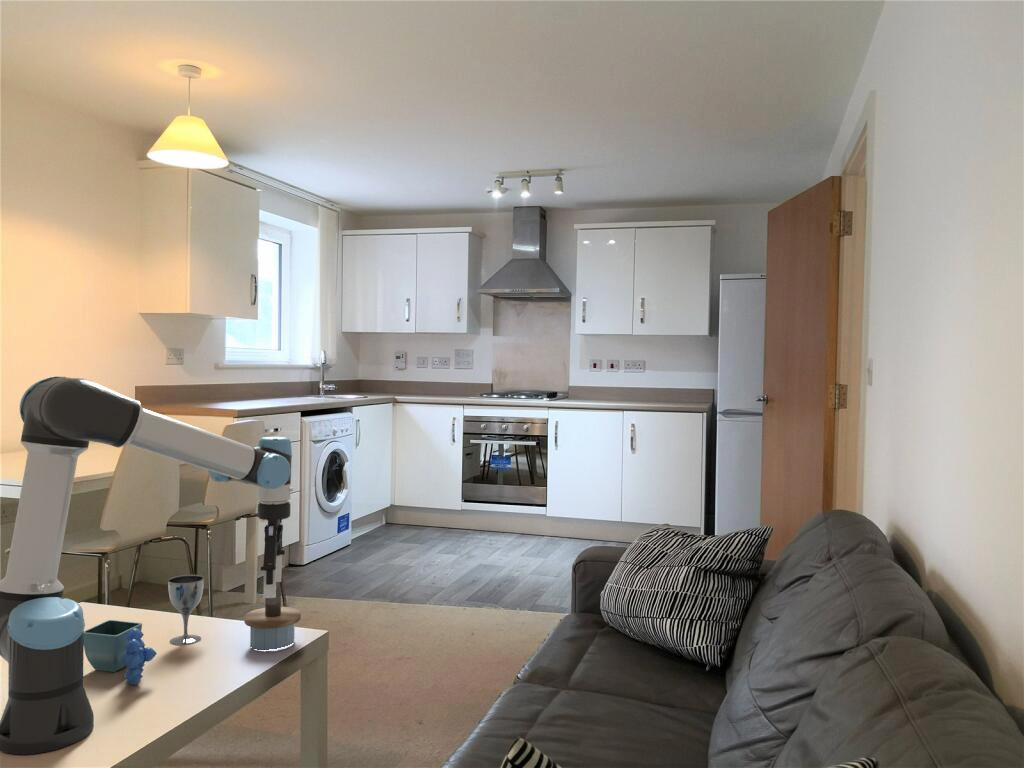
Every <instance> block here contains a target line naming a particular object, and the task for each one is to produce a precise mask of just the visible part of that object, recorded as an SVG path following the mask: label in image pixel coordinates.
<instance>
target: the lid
mask: <svg viewBox="0 0 1024 768" xmlns="http://www.w3.org/2000/svg"><path fill="white" fill-rule="evenodd" d="M264 599H265V601H264V603H265V604H264V607H262V608H261V607H260V608H257V609H253V610H251V611H248V612H247V613H245V615H244V624H245V625H246V626H247V627H253V628H261V629H271V628H280V627H286V626H290V625H293V624H295V625H296V624H297V623H299V622H300V621H301V620H302V612H301V610H299V609H298V608H295V607H289V606H282V589H281V588H279V587H276V598H264Z"/></svg>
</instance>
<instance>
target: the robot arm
mask: <svg viewBox="0 0 1024 768" xmlns="http://www.w3.org/2000/svg"><path fill="white" fill-rule="evenodd" d="M19 414H20V418H21V420H22V422H23V425H22V432H21V438H20V444H21V445H22V446H23V447H24V448H25V450H26V451H27V455H26V460H25V461H26V462H25V466H24V473H23V477H22V483H21V489H20V494H19V500H18V505H17V512H16V516H15V520H14V521H15V522H14V529H13V532H12V539H11V545H10V550H9V555H8V560H7V561H8V562H7V567H6V571H5V572H6V573H5V576H4V577H3V578H1V580H0V657H1V658H3V659H4V660H5V661H6V662H7V664H8V669H7V670H8V678H7V679H8V681H7V682H8V685H7V687H8V690H7V692H8V698H7V702H6V704H5V707H4V709H3V712H2V715H1V718H0V751H1V752H3V753H7V754H10V755H35V754H41V753H46V752H51V751H52V752H53V751H55V750H56V751H57V750H59V749H63V748H65V747H68V746H71V745H73V744H75V743H78V742H79V741H81V740H82V739H84V738H86V737H87V736H88V735H90V734H91V732H92V731H93V729H94V724H95V723H94V720H95V719H94V718H95V717H94V712H93V711H94V710H93V708H92V706H91V704H90V701H89V698H88V694H87V693H86V690H85V688H84V654H85V650H84V631H85V627H86V623H85V622H86V621H85V617H84V610H83V608H82V606H81V605H80V603H79V602H77V601H75V600H73V599H70V598H66V597H65V598H63V595H64V590H65V586H64V585H63V584H62V582H61V581H60V580H59V579H58V574H59V568H60V563H61V555H62V550H63V544H64V541H65V540H64V539H65V533H66V529H67V521H68V516H69V511H70V510H69V509H70V503H71V499H72V494H73V493H72V492H73V487H74V482H75V474H76V470H77V469H76V468H77V466H78V458H79V457H80V455H82V454H83V453H84V452H86V451H88V449H89V444H90V442H92V443H93V442H94V443H99V444H105V445H108V446H111V447H115V448H122V447H124V446H130V447H133V448H137V449H139V450H143V451H146V452H148V453H149V452H150V453H152V454H155V455H158V456H161V457H165V458H168V459H172V460H175V461H178V462H181V463H184V464H186V465H187V464H188V465H190V466H194V467H198V468H199V469H204V470H206V471H208V474H209V476H210V479H211V480H212V481H214V482H217V483H223V482H224V483H228V482H239V483H243V484H248V485H251V486H252V485H253V486H257V501H258V504H257V518H258V519H260V520H263V521H264V520H266V521H267V524H265V526H264V550H263V551H264V554H263V565H262V566H260V571H263V592H262V593H263V597H262V598H263V599H265V598H276V588H277V583H281V582H282V576H283V575H282V572H283V571H282V569H283V568H282V566H283V563H282V562H283V558H282V557H283V556H284V555H285V553H286V552H285V551H286V550H285V549H284V547H283V531H284V523H283V524H282V522H283V521H282V520H286V519H288V518H290V516H291V502H290V500H291V492H293V491H294V487H293V486H291V484H292V482H291V481H292V458H293V454H292V442H291V440H290V438H289V437H286V436H285V437H284V436H263V437H261V438H259V440H258V444H257V446H251V445H248V444H246V443H242V442H239V441H236V440H235V439H231V438H228V437H225V436H223V435H220V434H217V433H214V432H212V431H209V430H206V429H203V428H200V427H197V426H194V425H191V424H189V423H186V422H183V421H180V420H177V419H174V418H171V417H169V416H166V415H163V414H160V413H159V412H158V413H157V412H154V411H153V410H148V409H146V408H143V406H142V404H141V402H140V401H139V400H137V399H134V398H131V397H129V396H126V395H124V394H121V393H119V392H117V391H115V390H112V389H110V388H108V387H106V386H104V385H102V384H100V383H98V382H95V381H93V380H90V379H86V378H80V377H77V378H76V377H66V376H58V375H57V376H52V377H51V376H50V377H47V378H43V379H40V380H38V381H36V382H35V383H33V384H32V385H30V386H29V387H28V388H27V389H26V391H24V393H23V395H22V397H21V398H20V402H19ZM283 549H284V550H283Z"/></svg>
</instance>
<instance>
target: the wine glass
mask: <svg viewBox="0 0 1024 768" xmlns="http://www.w3.org/2000/svg"><path fill="white" fill-rule="evenodd" d="M204 580H205V578H204V576H203V575H200V574H181V575H176V576H175V575H174V576H173V577H169V579H168V582H167V583H168V585H167V587H168V590H167V591H168V596H169V601H170V603H171V605H172V606H173V607H174V608H175V609H176V610H177V611H178V612H179V614H180V615H181V616H182V621H183V634H182V635H180V636H176V637H173V638H171V639H170V641H169V643H170V645H172V646H173V645H174V646H187V645H194V644H195V643H198V642H201V640H202V637H201V636H199V635H197V634H188V626H189V618H190V615H191V613H192V612H193V611H194V609H195V608H196V607H197V606H198V605H199V603H200V602H201V599H202V597H203V594H204V593H203V592H204V583H205V581H204Z"/></svg>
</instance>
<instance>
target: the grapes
mask: <svg viewBox="0 0 1024 768" xmlns="http://www.w3.org/2000/svg"><path fill="white" fill-rule="evenodd" d="M143 637H144V633H143V632H142V630H141V631H140V630H139V629H137V628H134V629H132V630H131V631H130V632H129V633H128V634H127V635H126V636H125V638H126V639H127V640H128V641H129V642H128V643H127V644H126V645H125V647H124V648H125V649H126V652H125V653H124V654H123V656H122V657H121V658H122V659H123V660H124V662H123V663H124V664H125V665H126V666H125V667H127V670H126V671H125V673H124V674H123V675H124V679H125V680H126V682H128V683H129V684H130V685H132V686H133V685H134V686H135V685H136V684H138V683H139V682H140V681H141V679H142V678H143V677H144V676H143V675H142V673H143V672H144V669H143V667H144V666H145V663H146V662H151V661H152V660H153V659H154V658H155V656H156V655H157V651H156V650H154V649H153V648H152V647H151V646H148V647H146V644H145V642H144V640H143V639H142V638H143Z"/></svg>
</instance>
